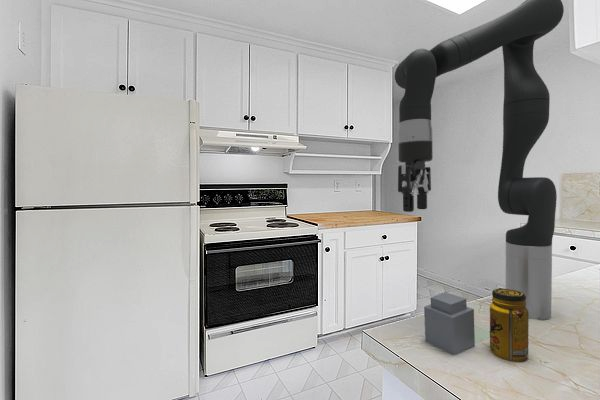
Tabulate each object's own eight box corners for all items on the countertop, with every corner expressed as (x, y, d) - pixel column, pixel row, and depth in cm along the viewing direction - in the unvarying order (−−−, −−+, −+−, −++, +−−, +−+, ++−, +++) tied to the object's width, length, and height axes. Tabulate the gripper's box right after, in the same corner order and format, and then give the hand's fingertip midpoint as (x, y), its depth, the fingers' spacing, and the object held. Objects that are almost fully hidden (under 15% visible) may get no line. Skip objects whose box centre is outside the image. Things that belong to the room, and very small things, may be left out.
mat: (455, 318, 76) (455, 317, 76) (497, 335, 67) (497, 334, 67) (425, 328, 71) (425, 326, 71) (466, 347, 62) (466, 346, 62)
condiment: (479, 347, 63) (479, 287, 62) (519, 344, 64) (519, 284, 63) (506, 368, 56) (507, 300, 55) (551, 364, 56) (552, 297, 56)
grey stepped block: (425, 342, 65) (423, 297, 64) (445, 333, 68) (444, 289, 67) (454, 356, 59) (452, 307, 59) (474, 346, 62) (473, 299, 62)
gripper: (420, 136, 67) (420, 213, 68) (441, 142, 78) (441, 208, 78) (386, 140, 72) (387, 212, 72) (411, 145, 83) (411, 208, 83)
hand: (415, 210), depth 75 cm, fingers open, 8 cm apart
